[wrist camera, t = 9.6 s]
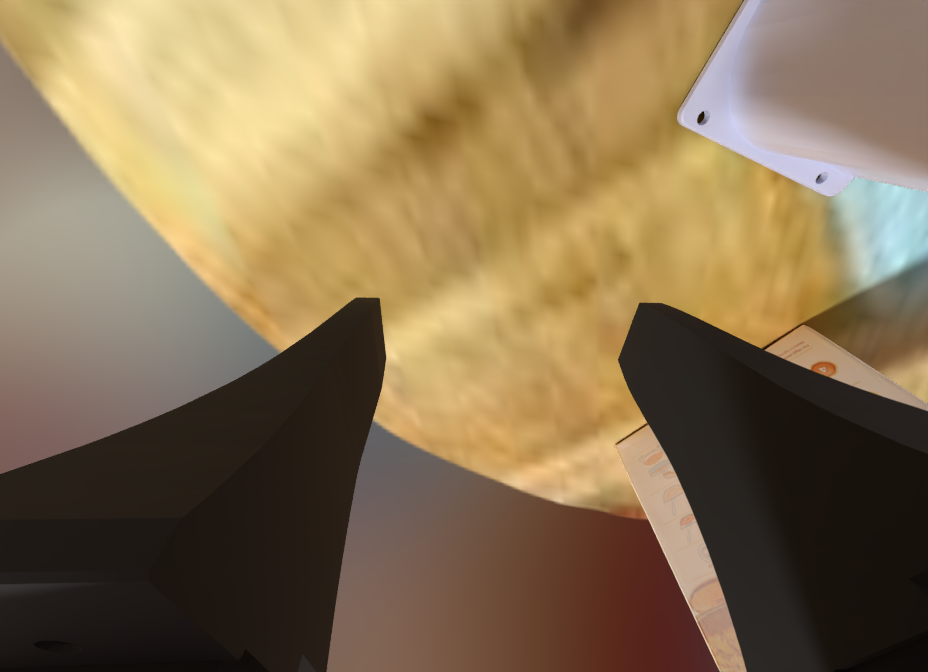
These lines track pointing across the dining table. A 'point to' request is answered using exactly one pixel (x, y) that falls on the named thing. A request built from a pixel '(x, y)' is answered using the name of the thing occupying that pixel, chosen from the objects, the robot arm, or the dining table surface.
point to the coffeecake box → (675, 514)
